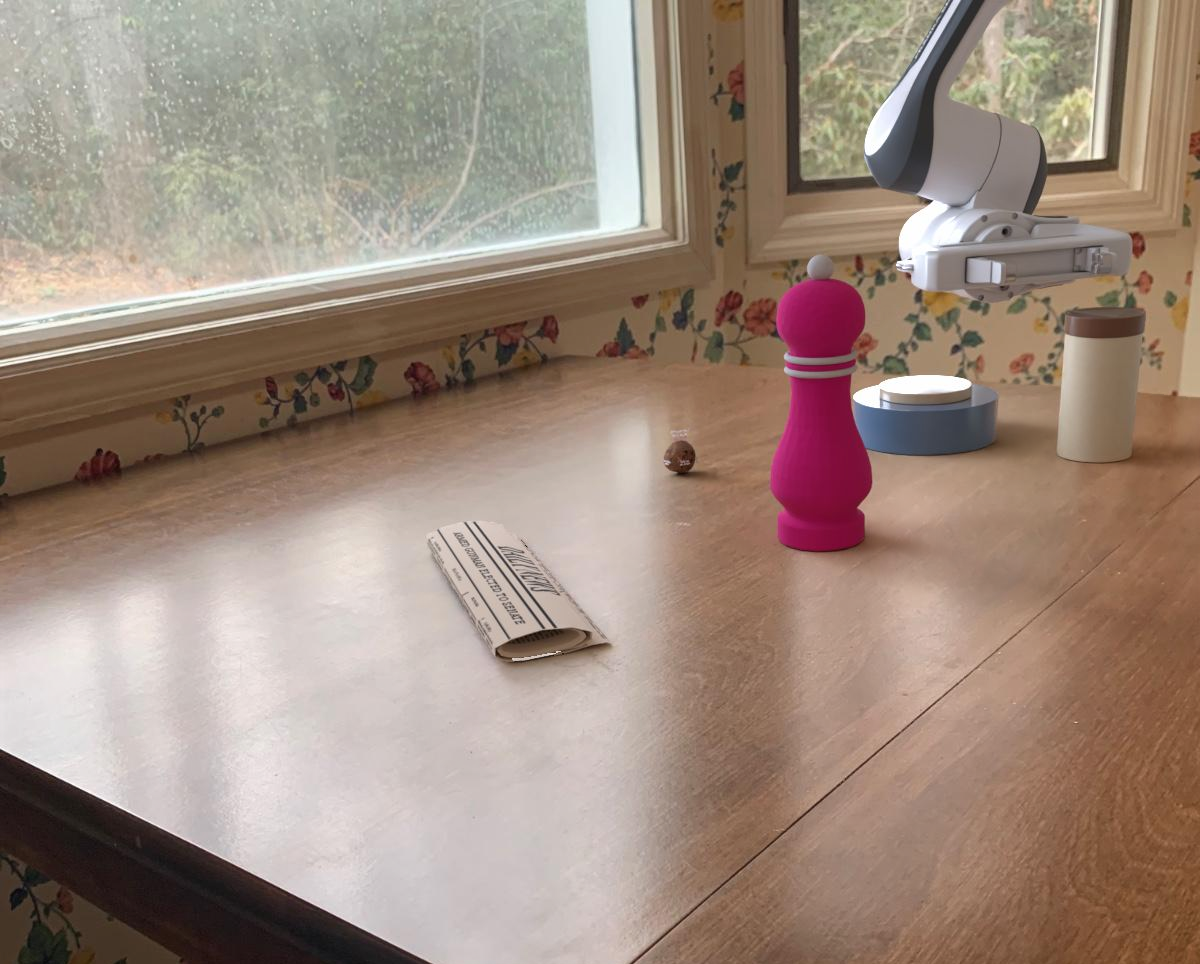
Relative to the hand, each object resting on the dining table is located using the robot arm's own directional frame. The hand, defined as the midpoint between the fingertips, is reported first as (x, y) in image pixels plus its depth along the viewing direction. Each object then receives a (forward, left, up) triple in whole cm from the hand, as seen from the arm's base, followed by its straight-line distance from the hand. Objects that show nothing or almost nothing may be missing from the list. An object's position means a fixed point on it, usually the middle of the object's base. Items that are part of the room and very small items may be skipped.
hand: (1059, 268), depth 107 cm
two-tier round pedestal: (+11, -2, -15) cm, 19 cm away
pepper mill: (+29, +23, -15) cm, 40 cm away
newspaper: (+52, +27, -15) cm, 61 cm away
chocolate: (+35, +2, -15) cm, 38 cm away
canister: (0, +9, -15) cm, 17 cm away
